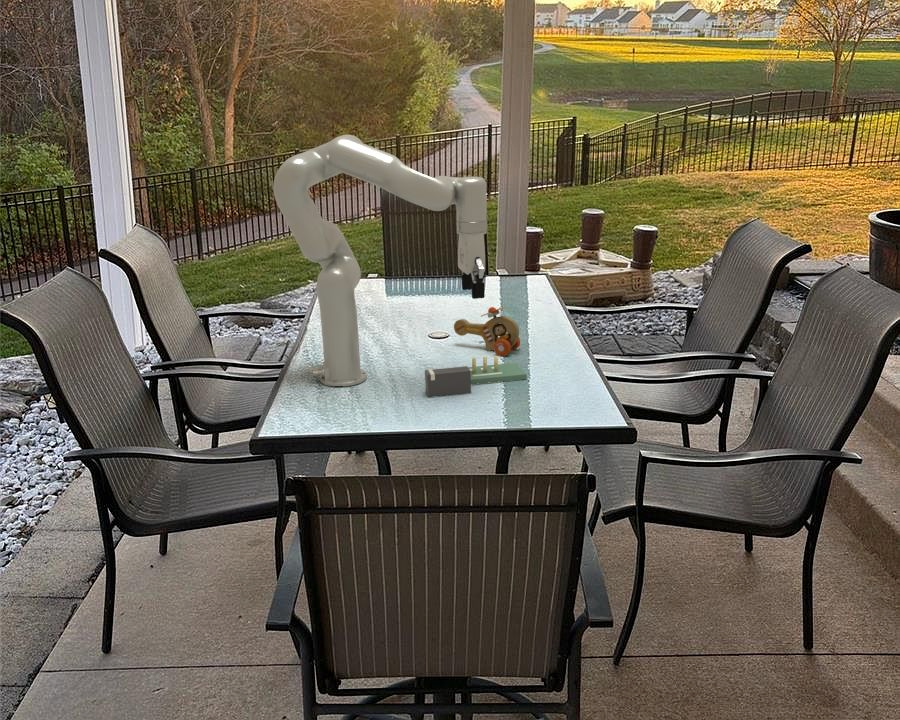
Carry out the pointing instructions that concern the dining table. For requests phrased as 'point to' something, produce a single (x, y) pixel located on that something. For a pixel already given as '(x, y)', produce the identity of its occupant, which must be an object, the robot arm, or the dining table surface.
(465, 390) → the block
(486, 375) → the header board
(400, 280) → the dining table surface
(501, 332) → the toy helicopter
